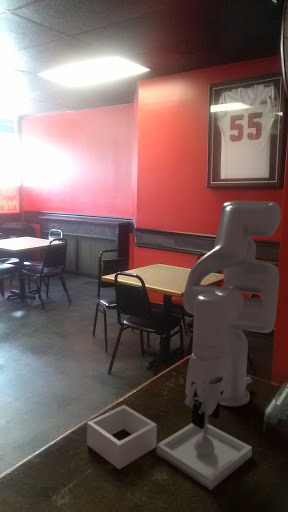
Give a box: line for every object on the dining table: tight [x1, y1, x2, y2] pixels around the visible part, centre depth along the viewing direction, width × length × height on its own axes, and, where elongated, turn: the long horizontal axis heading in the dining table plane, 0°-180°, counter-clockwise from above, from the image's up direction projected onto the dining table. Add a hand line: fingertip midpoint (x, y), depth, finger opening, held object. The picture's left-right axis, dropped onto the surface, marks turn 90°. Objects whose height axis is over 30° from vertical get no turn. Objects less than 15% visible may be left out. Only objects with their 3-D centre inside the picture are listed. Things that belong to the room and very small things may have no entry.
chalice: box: [194, 377, 223, 454], centre depth 95 cm, size 7×7×18 cm
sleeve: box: [86, 404, 158, 470], centre depth 100 cm, size 12×12×6 cm
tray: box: [155, 422, 253, 491], centre depth 97 cm, size 16×16×2 cm
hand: (205, 420), depth 96 cm, fingers closed on chalice, 4 cm apart
